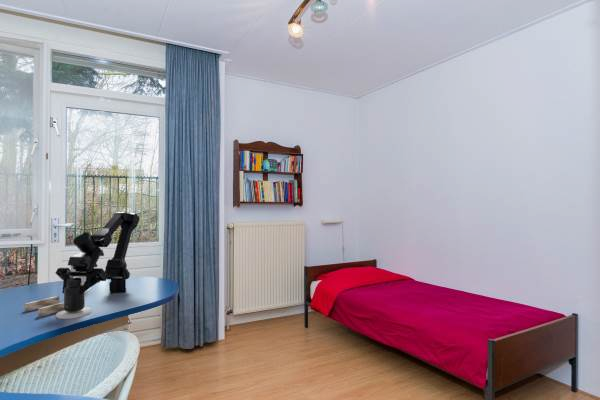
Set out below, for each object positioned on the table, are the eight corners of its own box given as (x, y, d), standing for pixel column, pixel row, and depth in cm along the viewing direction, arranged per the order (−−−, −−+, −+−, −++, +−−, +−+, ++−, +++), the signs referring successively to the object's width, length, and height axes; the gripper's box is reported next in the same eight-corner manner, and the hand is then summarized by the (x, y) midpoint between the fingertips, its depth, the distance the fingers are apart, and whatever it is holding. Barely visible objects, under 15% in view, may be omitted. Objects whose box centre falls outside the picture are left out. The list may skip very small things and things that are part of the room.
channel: (57, 302, 152) (57, 295, 152) (73, 307, 145) (73, 300, 145) (24, 311, 141) (24, 303, 141) (39, 316, 135) (39, 309, 135)
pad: (93, 306, 147) (93, 305, 147) (90, 316, 136) (90, 314, 136) (59, 310, 142) (59, 309, 142) (52, 320, 131) (52, 319, 131)
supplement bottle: (75, 305, 143) (76, 276, 143) (88, 307, 141) (88, 278, 141) (59, 311, 137) (59, 280, 136) (72, 313, 135) (72, 282, 134)
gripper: (58, 247, 143) (36, 282, 132) (102, 248, 141) (84, 283, 131) (72, 263, 151) (53, 296, 140) (114, 263, 150) (98, 297, 139)
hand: (71, 293), depth 137 cm, fingers closed on supplement bottle, 7 cm apart
